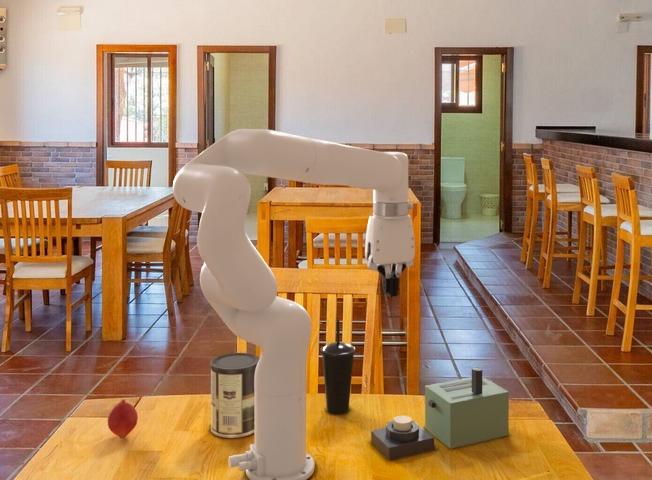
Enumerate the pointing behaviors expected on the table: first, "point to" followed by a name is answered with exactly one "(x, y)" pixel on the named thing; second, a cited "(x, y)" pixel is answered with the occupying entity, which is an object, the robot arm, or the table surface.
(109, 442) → the table surface
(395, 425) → the button
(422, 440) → the control block
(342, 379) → the drinking cup
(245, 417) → the coffee can
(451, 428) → the toaster
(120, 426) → the onion
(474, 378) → the slider
